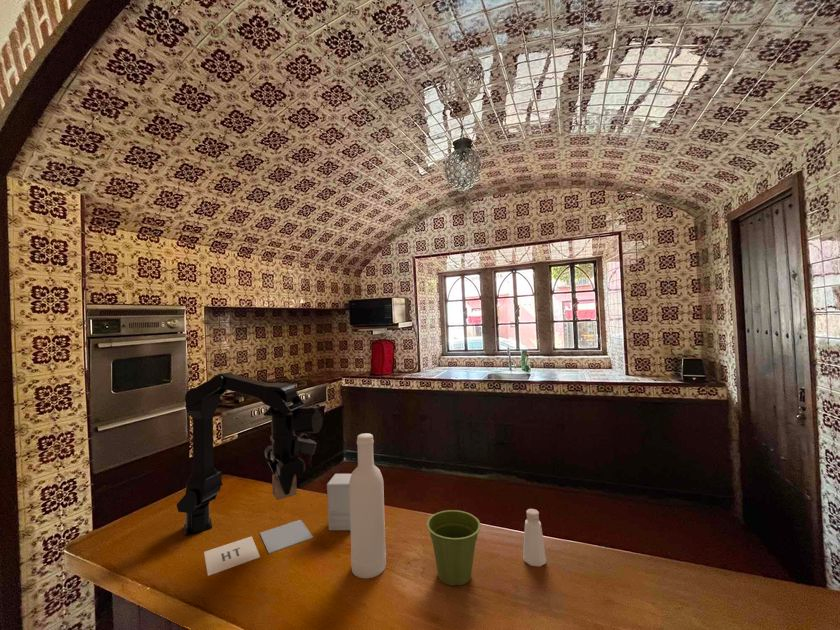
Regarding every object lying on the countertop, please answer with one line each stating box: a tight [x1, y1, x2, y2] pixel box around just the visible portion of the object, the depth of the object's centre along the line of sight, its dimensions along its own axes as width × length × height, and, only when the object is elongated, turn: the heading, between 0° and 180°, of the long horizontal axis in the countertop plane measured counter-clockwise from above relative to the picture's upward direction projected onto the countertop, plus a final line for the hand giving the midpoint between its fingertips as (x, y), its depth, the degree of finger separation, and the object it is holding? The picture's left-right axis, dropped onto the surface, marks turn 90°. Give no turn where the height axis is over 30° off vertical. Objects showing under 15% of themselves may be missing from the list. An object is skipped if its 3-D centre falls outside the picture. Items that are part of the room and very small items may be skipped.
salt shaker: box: [522, 508, 547, 567], centre depth 84 cm, size 5×5×11 cm
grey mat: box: [259, 519, 314, 555], centre depth 97 cm, size 11×11×1 cm
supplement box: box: [326, 473, 352, 531], centre depth 102 cm, size 7×7×13 cm
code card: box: [203, 536, 261, 577], centre depth 90 cm, size 11×11×1 cm
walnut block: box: [271, 474, 298, 501], centre depth 97 cm, size 5×5×5 cm
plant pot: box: [426, 509, 482, 586], centre depth 80 cm, size 12×12×11 cm
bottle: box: [349, 432, 387, 579], centre depth 84 cm, size 8×8×30 cm
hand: (284, 490), depth 97 cm, fingers closed on walnut block, 5 cm apart
